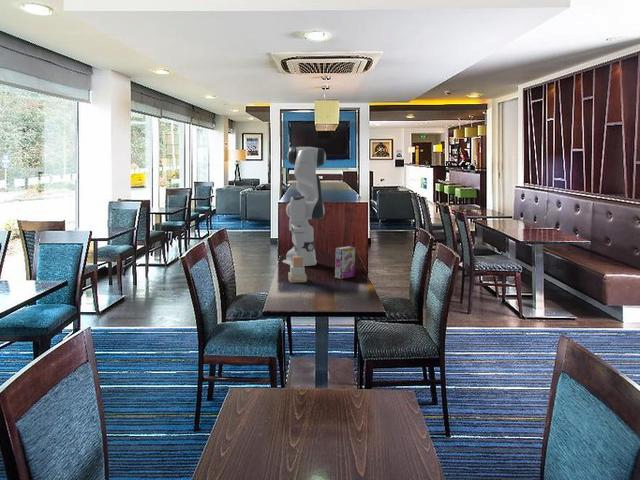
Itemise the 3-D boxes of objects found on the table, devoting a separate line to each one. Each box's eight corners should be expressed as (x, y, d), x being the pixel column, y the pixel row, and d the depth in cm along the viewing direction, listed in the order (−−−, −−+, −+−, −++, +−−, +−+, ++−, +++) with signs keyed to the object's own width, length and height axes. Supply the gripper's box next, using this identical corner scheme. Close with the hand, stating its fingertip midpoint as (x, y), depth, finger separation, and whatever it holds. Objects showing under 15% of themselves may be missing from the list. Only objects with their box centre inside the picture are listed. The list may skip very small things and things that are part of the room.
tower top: (290, 272, 298) (290, 264, 298) (303, 272, 299) (303, 264, 299) (291, 275, 292) (291, 267, 291) (304, 274, 292) (304, 267, 292)
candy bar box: (341, 279, 298) (341, 249, 295) (334, 278, 301) (334, 248, 299) (355, 276, 305) (355, 246, 303) (348, 275, 309) (348, 245, 307)
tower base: (288, 279, 299) (288, 272, 299) (304, 279, 301) (304, 271, 300) (290, 283, 291) (290, 275, 290) (306, 282, 292) (306, 275, 292)
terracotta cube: (292, 265, 297) (292, 256, 296) (301, 265, 297) (301, 255, 297) (293, 267, 292) (293, 257, 291) (302, 266, 293) (303, 257, 292)
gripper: (289, 224, 301) (289, 249, 303) (294, 229, 281) (293, 256, 283) (301, 224, 302) (300, 249, 304) (306, 229, 282) (306, 256, 284)
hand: (297, 253), depth 293 cm, fingers open, 8 cm apart
